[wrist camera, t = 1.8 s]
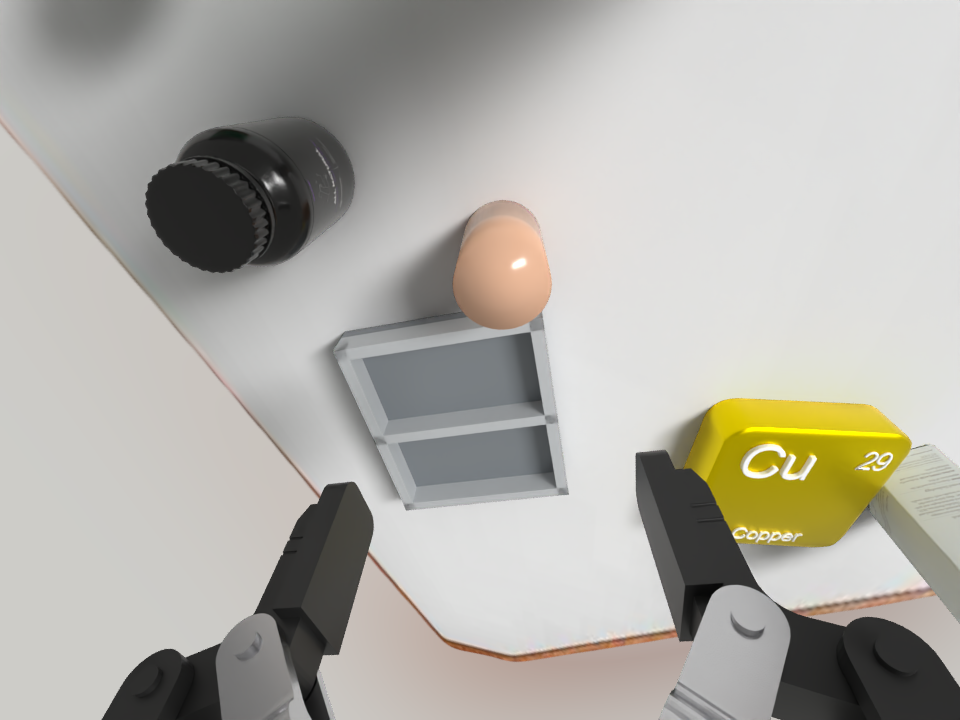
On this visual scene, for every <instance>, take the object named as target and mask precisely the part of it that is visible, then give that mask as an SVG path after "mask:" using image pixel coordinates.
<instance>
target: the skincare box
mask: <svg viewBox="0 0 960 720" xmlns="http://www.w3.org/2000/svg"><path fill="white" fill-rule="evenodd" d="M869 505H870V513H871V514H872V515H873V516H874V518H875V519H876V520H877V521H878V523H879V524H880V525H881V526H882V528H883V529H884V530H885V531H886V533H887V534H888V535H889V536H890V538H891V539H892V540H893V541H894V543H895V544H896V545H897V546H898V548H899V549H900V550H901V551H902V553H903V554H904V555H905V556H906V558H907V559H908V560H909V561H910V563H911V564H912V565H913V566H914V568H915V569H916V570H917V571H918V572H919V574H920V575H921V576H922V577H923V579H924V580H925V581H926V582H927V584H928V585H929V586H930V587H931V589H932V590H933V591H934V592H935V594H936V595H937V596H938V597H939V598H940V600H941V601H942V602H943V603H944V605H945V606H946V607H947V608H948V610H949V611H950V612H951V613H952V615H953V616H954V617H955V618H956V619H957V621H958V622H959V623H960V467H959V466H958V465H957V464H956V463H954V462H953V461H952V460H951V459H950V458H949V457H948V456H946V455H945V454H944V453H943V452H942V451H941V450H940V449H938V448H937V447H936V446H935V445H927V446H923V447H919V448H915V449H911V450H910V452H909V454H908V455H907V456H906V458H905V459H904V460H903V461H902V463H901V464H900V465H899V467H898V468H897V469H896V470H895V472H894V473H893V474H892V475H891V477H890V478H889V479H888V480H887V482H886V483H885V484H884V486H883V487H882V488H881V489H880V491H879V492H878V493H877V494H876V496H875V497H874V498H873V499H872V501H871V502H870V503H869Z"/></svg>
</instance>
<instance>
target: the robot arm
mask: <svg viewBox="0 0 960 720" xmlns="http://www.w3.org/2000/svg"><path fill="white" fill-rule="evenodd" d="M636 496H637V502H638V507H639V511H640V515H641V518H642V521H643V524H644V528H645V531H646V534H647V537H648V541H649V544H650V547H651V550H652V554H653V557H654V560H655V563H656V567H657V570H658V573H659V576H660V580H661V583H662V586H663V589H664V593H665V596H666V599H667V602H668V606H669V609H670V612H671V615H672V619H673V622H674V625H675V628H676V631H677V635H678V638H679V641H680V642H681V641H693V644H692V646H691V649H690V652H689V654H688V657H687V659H686V662H685V664H684V667H683V670H682V672H681V675H680V678H679V680H678V682H677V685H676V687H675V689H674V690H673V691H671V693H670V695H669V696H668V699H667V701H666V703H665V705H664V708H663V710H662V712H661V715H660V718H659V720H771V717H774V718H777V719H780V720H960V687H959V685H958V684H957V683H956V681H955V680H954V678H953V677H952V675H951V674H950V672H949V671H948V669H947V668H946V666H945V665H944V663H943V662H942V661H941V659H940V658H939V657H938V655H937V654H936V653H935V651H934V650H933V649H932V648H931V647H930V646H929V645H928V644H927V643H925V642H924V641H923V640H922V639H921V638H920V637H918V636H917V635H916V634H914V633H913V632H911V631H910V630H908V629H906V628H904V627H903V626H900V625H898V624H896V623H894V622H891V621H888V620H885V619H880V618H874V617H862V618H859V619H856V620H854V621H852V622H850V624H848V625H847V627H844V626H840V625H836V624H832V623H828V622H824V621H820V620H816V619H812V618H808V617H805V616H802V615H798V614H796V613H793V612H791V611H789V610H787V609H785V608H783V607H782V606H780V605H779V604H777V603H776V602H774V601H773V600H772V599H771V598H770V597H768V596H767V595H766V594H765V592H764V591H763V590H762V589H761V588H760V587H759V585H758V584H757V582H756V581H755V579H754V577H753V575H752V573H751V571H750V569H749V567H748V565H747V563H746V561H745V559H744V557H743V555H742V553H741V551H740V549H739V547H738V545H737V543H736V541H735V538H734V536H733V534H732V532H731V530H730V528H729V526H728V524H727V522H726V521H725V520H724V516H723V514H722V512H721V510H720V508H719V506H718V505H717V503H716V500H715V498H714V496H713V494H712V492H711V490H710V488H709V486H708V484H707V483H706V482H705V481H704V480H703V479H702V478H701V477H700V476H699V475H698V474H697V473H696V472H694V471H693V470H692V469H691V468H688V469H678V470H675V469H674V466H673V464H672V462H671V459H670V457H669V455H668V453H667V451H666V450H659V451H649V452H640V453H636ZM373 528H374V524H373V517H372V514H371V511H370V510H369V508H368V506H367V504H366V502H365V500H364V498H363V496H362V494H361V492H360V490H359V488H358V486H357V485H356V484H355V483H354V482H345V483H336V484H328V485H327V486H326V487H325V488H324V490H323V492H322V494H321V497H320V499H319V501H318V504H312V505H310V506H309V508H308V509H307V510H306V511H305V512H304V513H303V515H302V516H301V517H300V518H299V519H298V520H297V522H296V525H295V527H294V529H293V531H292V534H291V536H290V541H288V542H287V544H286V546H285V548H284V551H283V555H281V557H280V560H279V561H278V564H277V566H276V568H275V570H274V572H273V574H272V577H271V579H270V581H269V583H268V585H267V587H266V590H265V592H264V594H263V596H262V598H261V600H260V603H259V605H258V607H257V609H256V611H255V613H254V614H253V615H252V616H250V617H247V618H246V619H244V620H242V621H241V622H240V623H238V624H237V625H236V626H235V627H234V628H233V629H232V630H231V631H230V632H229V633H228V634H227V636H226V637H225V638H224V640H223V642H222V643H221V644H218V645H215V646H213V647H210V648H208V649H205V650H203V651H201V652H198V653H196V654H193V655H191V656H189V657H186V658H185V657H184V656H183V655H181V654H180V653H179V652H178V651H176V650H174V649H165V650H161V651H158V652H156V653H154V654H152V655H151V656H149V657H148V658H146V659H145V660H144V661H143V662H141V663H140V664H139V665H138V666H137V667H136V668H135V669H134V670H133V671H132V672H131V673H130V674H129V675H128V677H127V678H126V679H125V681H124V682H123V684H122V686H121V687H120V689H119V691H118V693H117V694H116V696H115V698H114V699H113V701H112V703H111V705H110V707H109V708H108V710H107V711H106V713H105V715H104V717H103V718H102V720H336V719H335V716H334V713H333V710H332V707H331V704H330V700H329V697H328V694H327V691H326V687H325V684H324V681H323V678H322V675H321V672H320V671H319V666H320V663H321V659H322V656H323V655H338V654H339V652H340V648H341V645H342V641H343V638H344V634H345V631H346V627H347V624H348V620H349V617H350V613H351V609H352V606H353V602H354V599H355V595H356V592H357V588H358V585H359V581H360V578H361V574H362V571H363V567H364V564H365V560H366V557H367V553H368V550H369V546H370V543H371V539H372V535H373Z"/></svg>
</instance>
